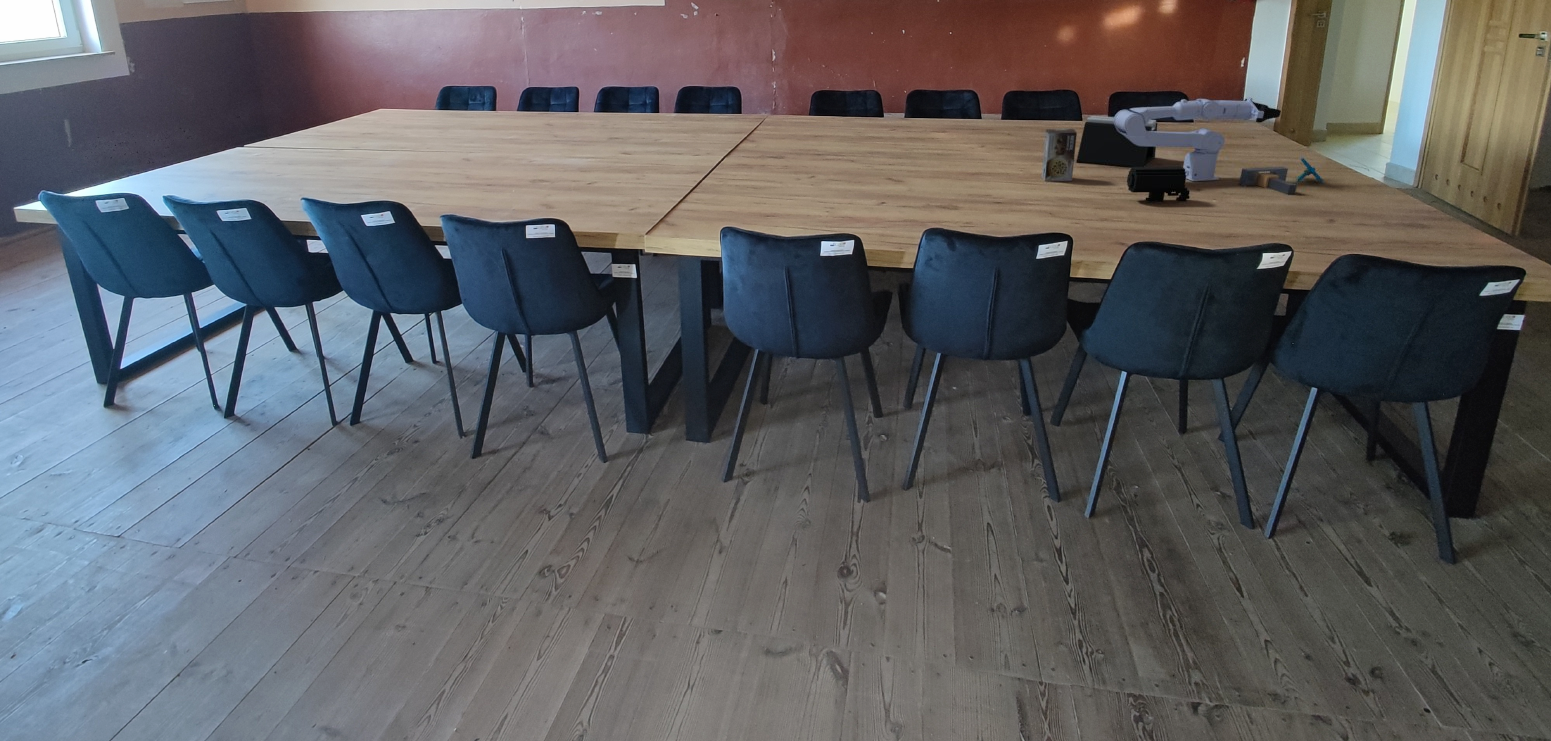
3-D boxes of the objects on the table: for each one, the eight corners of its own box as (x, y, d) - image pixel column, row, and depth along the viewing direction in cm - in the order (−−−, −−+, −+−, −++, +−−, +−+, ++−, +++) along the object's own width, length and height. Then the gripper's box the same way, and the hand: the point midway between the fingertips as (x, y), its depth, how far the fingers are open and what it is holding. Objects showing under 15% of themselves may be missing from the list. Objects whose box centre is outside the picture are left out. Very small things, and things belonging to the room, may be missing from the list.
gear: (1326, 181, 290) (1306, 157, 291) (1309, 193, 293) (1288, 169, 294) (1322, 178, 300) (1302, 155, 301) (1305, 190, 303) (1285, 167, 303)
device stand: (1141, 169, 319) (1147, 126, 312) (1076, 163, 330) (1081, 121, 323) (1154, 158, 336) (1161, 117, 330) (1092, 153, 347) (1097, 112, 341)
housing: (1244, 186, 293) (1247, 170, 291) (1239, 184, 295) (1242, 168, 293) (1284, 184, 294) (1288, 168, 292) (1278, 182, 297) (1282, 166, 295)
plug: (1297, 194, 282) (1299, 182, 281) (1285, 195, 282) (1287, 183, 280) (1266, 183, 296) (1268, 172, 294) (1255, 184, 295) (1257, 173, 294)
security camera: (1191, 203, 274) (1197, 170, 270) (1130, 204, 274) (1135, 170, 270) (1183, 197, 280) (1188, 165, 276) (1122, 198, 281) (1127, 166, 277)
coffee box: (1068, 177, 308) (1074, 128, 302) (1072, 181, 303) (1077, 132, 296) (1040, 177, 309) (1045, 128, 303) (1044, 181, 303) (1049, 132, 297)
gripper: (1247, 101, 286) (1289, 103, 287) (1225, 93, 299) (1264, 94, 300) (1241, 124, 290) (1282, 125, 291) (1219, 115, 303) (1258, 116, 303)
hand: (1273, 111), depth 296 cm, fingers open, 7 cm apart
